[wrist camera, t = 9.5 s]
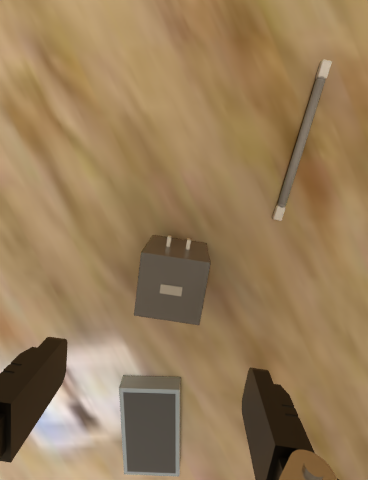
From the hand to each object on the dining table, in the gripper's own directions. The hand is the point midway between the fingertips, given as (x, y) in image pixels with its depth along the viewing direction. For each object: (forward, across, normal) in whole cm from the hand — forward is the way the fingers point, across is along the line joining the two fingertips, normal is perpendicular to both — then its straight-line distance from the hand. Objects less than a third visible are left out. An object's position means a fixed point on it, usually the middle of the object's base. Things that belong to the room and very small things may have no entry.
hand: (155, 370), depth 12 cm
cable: (+14, -9, -12) cm, 21 cm away
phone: (+15, 0, +18) cm, 23 cm away
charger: (+14, 0, 0) cm, 15 cm away
